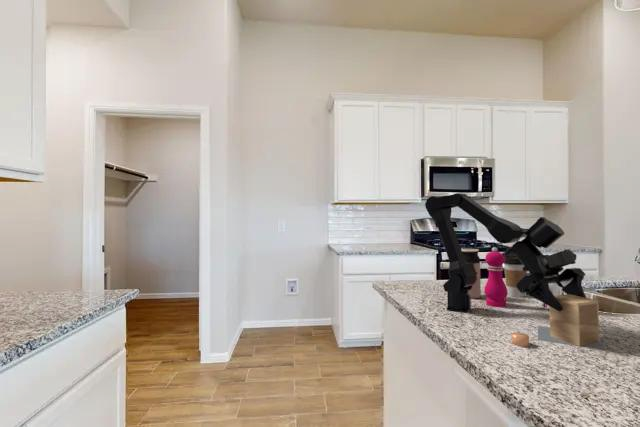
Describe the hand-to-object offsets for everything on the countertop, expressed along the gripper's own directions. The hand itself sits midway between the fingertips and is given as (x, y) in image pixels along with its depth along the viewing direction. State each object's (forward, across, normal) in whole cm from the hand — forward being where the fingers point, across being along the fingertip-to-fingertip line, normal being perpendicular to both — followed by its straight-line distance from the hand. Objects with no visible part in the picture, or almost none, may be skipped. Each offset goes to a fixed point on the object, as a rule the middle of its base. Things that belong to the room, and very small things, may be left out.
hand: (574, 308), depth 83 cm
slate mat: (+4, 0, +7) cm, 8 cm away
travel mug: (-27, +9, +38) cm, 47 cm away
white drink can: (-10, +22, +22) cm, 32 cm away
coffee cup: (-22, +26, +34) cm, 48 cm away
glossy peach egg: (+4, -15, +8) cm, 17 cm away
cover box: (+5, 0, +6) cm, 8 cm away
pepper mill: (-18, +9, +29) cm, 35 cm away
